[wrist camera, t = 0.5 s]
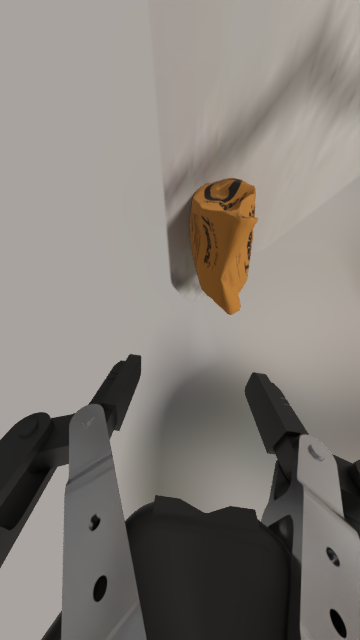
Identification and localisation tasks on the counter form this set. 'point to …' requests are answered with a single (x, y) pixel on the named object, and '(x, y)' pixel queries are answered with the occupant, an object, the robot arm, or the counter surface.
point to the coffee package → (223, 238)
